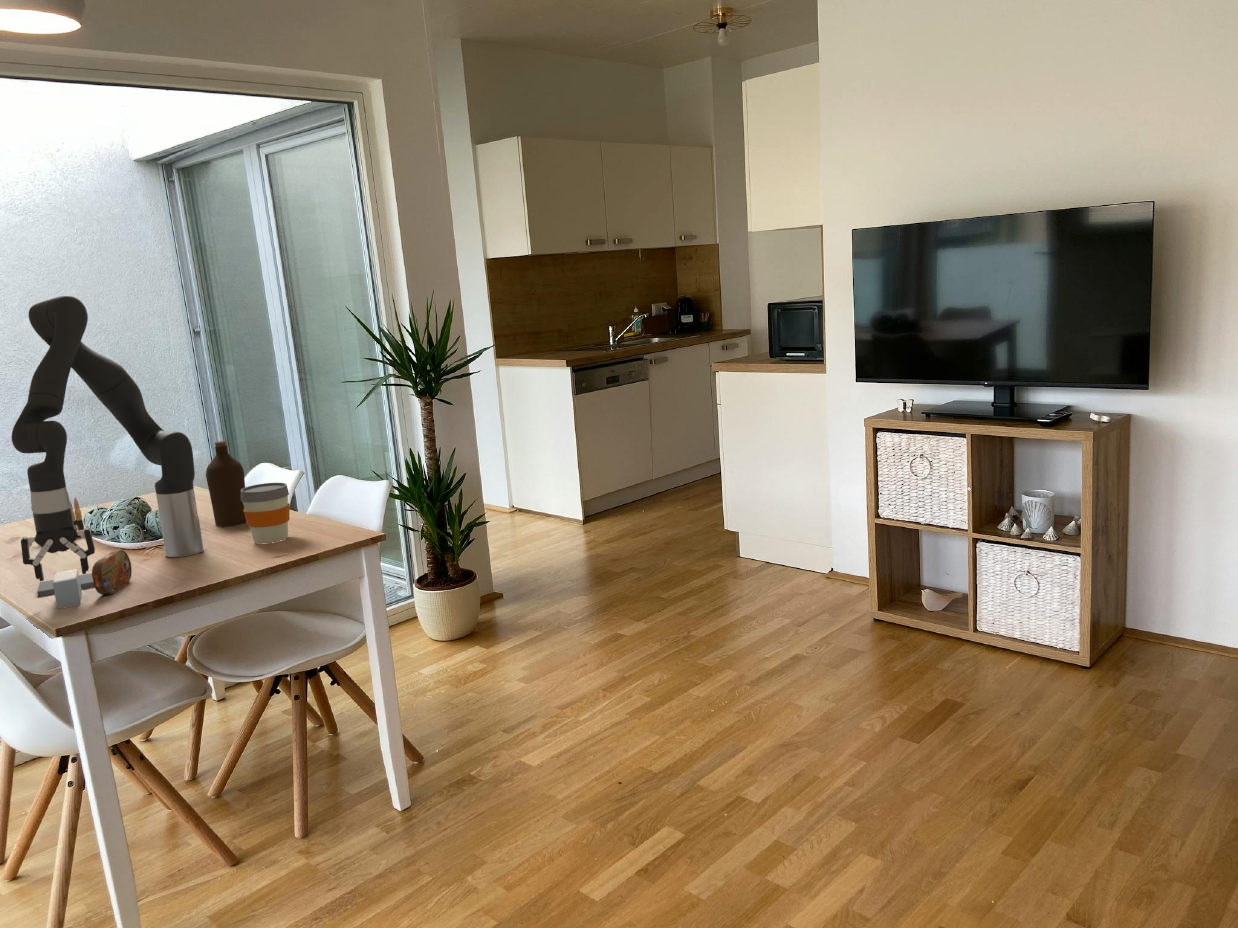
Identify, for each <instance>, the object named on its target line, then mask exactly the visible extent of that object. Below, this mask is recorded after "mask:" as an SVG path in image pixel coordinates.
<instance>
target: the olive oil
mask: <svg viewBox="0 0 1238 928" xmlns="http://www.w3.org/2000/svg"><path fill="white" fill-rule="evenodd" d="M214 445H215V446H214V449H215V456H214V457H213V458H212V460H211V461H210V463H209V464H208V465H207V467H206V471H205V479H206V483H207V488H208V492H209V497H210V501H211V502H210V503H211V507H212V512H213V518H214V519H213V520H214V523H215V525H216V527H231V526H238V525H241V523H242V524H244V523H247V521H246V518H245V514H244V509H245V508H244V505H243V502H242V501H241V489H243V488H245V487H246V482H245V481H246V480H245V470H244V467H243V465H242V464H241V462H239V460H238V459H236V458H235V457H233V456H232V455H231V454H229V452H228V445H227V441H226V440H218V441H214Z"/></svg>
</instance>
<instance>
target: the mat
mask: <svg viewBox="0 0 1238 928" xmlns="http://www.w3.org/2000/svg"><path fill="white" fill-rule="evenodd" d="M79 580H80V585H81V590H82V589H83V590H84V589H88V588H93V587H94V588H95V585H94V582H93V577H92V572H91V573H86V574H81V575H80V574H79ZM53 581H54V579H52V580H45V581H39V584H38V587H37V590H36V594H37V597H38V598H39V597H45V596H50V595H53V594H54V595H55V593H54V588H53Z"/></svg>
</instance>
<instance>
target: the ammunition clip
mask: <svg viewBox="0 0 1238 928" xmlns="http://www.w3.org/2000/svg"><path fill="white" fill-rule="evenodd" d="M70 505H71V511H72V517H73V523H74V528H75V530H76V531H79V530H84V529H85V525H84V520H83V514H82V510H81V508H80V504H79V501H78V499H77V497H74V498H73V505H74V506H73V505H72V501H71V500H70ZM73 507H74V508H73ZM77 537H80V538H82V537H81V536H79V535H78V536H77Z"/></svg>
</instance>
